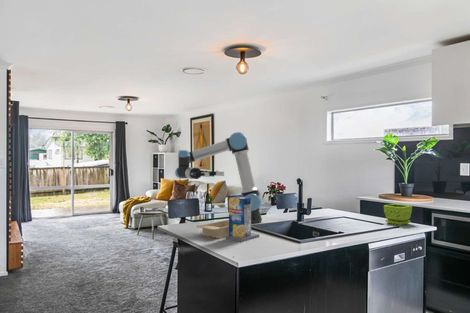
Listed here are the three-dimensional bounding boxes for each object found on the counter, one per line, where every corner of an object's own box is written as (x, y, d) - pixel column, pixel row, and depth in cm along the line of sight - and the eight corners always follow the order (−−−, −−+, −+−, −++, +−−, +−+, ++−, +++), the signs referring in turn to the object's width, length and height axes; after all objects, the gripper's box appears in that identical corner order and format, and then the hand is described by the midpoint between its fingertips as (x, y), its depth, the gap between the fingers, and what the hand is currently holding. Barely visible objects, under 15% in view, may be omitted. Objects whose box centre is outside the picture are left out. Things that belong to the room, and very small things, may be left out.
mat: (243, 234, 215) (243, 231, 215) (259, 237, 207) (259, 234, 207) (225, 238, 202) (225, 236, 202) (241, 242, 195) (241, 239, 195)
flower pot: (394, 221, 257) (394, 203, 257) (413, 224, 245) (413, 205, 245) (382, 223, 250) (382, 205, 250) (401, 226, 238) (400, 207, 238)
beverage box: (244, 237, 198) (244, 198, 198) (228, 235, 204) (228, 197, 204) (251, 235, 203) (251, 197, 203) (235, 233, 210) (235, 196, 210)
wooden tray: (229, 228, 231) (229, 219, 231) (246, 231, 221) (246, 222, 221) (196, 236, 209) (196, 226, 209) (214, 240, 199) (214, 229, 199)
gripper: (206, 178, 247) (229, 179, 233) (179, 179, 228) (202, 181, 214) (206, 167, 247) (229, 167, 233) (179, 168, 228) (202, 168, 214)
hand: (216, 174), depth 224 cm, fingers open, 13 cm apart
